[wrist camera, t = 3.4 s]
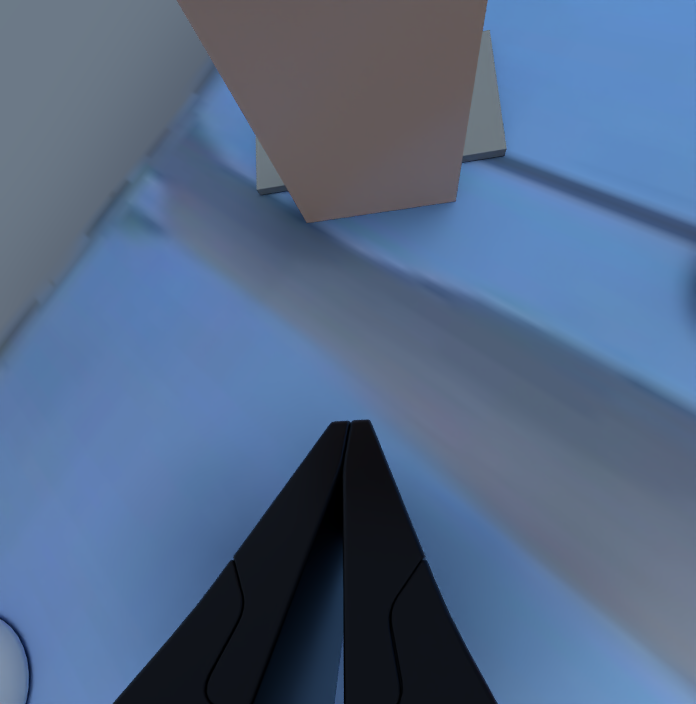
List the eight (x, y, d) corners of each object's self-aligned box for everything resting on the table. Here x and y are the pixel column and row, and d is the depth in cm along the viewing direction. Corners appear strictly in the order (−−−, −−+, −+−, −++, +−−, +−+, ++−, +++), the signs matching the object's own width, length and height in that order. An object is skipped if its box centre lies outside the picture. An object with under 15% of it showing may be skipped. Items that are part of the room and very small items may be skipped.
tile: (455, 201, 23) (503, -104, 10) (307, 222, 25) (167, -15, 11) (452, 170, 24) (493, -167, 10) (305, 193, 25) (169, -72, 12)
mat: (504, 155, 23) (506, 148, 23) (260, 194, 26) (256, 189, 25) (487, 39, 25) (489, 30, 24) (258, 87, 27) (254, 80, 26)
